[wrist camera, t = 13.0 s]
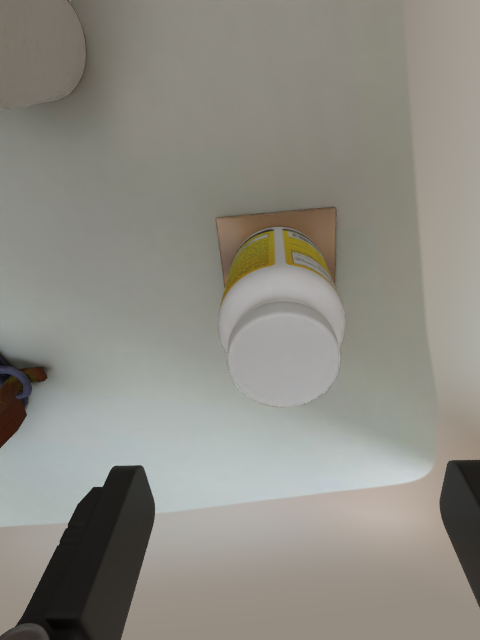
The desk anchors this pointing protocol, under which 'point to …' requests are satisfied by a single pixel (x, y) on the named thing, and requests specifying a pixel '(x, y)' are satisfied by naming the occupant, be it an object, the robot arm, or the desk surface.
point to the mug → (15, 396)
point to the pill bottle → (281, 319)
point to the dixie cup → (39, 51)
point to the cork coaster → (308, 222)
